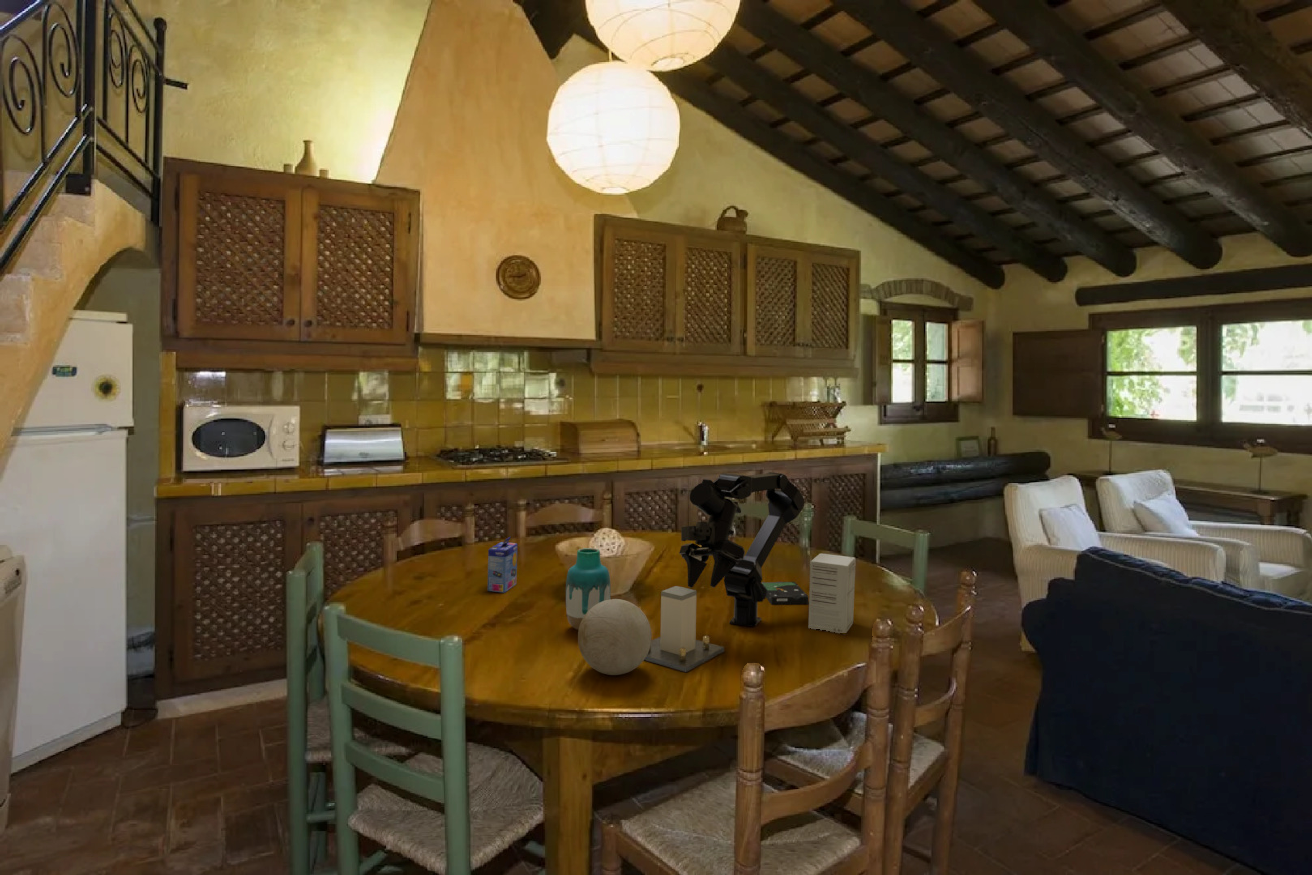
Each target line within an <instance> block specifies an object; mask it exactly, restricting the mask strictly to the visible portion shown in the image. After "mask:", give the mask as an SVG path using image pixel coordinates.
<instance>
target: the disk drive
mask: <svg viewBox="0 0 1312 875" xmlns="http://www.w3.org/2000/svg"><path fill="white" fill-rule="evenodd" d="M761 583H762V585H763V586H764V587H765V589H766V590H767V593H766V597H765V599H767V601H768V602H769V603H770V605H772V606H773V605H775V606H776V605H779V606H781V605H787V606H788V605H790V606H791V605H793V606H794V605H795V606H796V605H800V606H801V605H809V594H807V593H806V592H805V591H804V590H803V589H802V588H801V587H800V586H799V585H798V583H797V582H795V581H775V582H773V581H772V582H770V581H769V582H765V581H761Z"/></svg>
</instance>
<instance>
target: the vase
mask: <svg viewBox="0 0 1312 875" xmlns="http://www.w3.org/2000/svg"><path fill="white" fill-rule="evenodd" d="M601 561H602V560H601V551H600V549H598V548H593V547H587V548H586V547H585V548H580V549H578V550H577V552H576V562H575V564H574V565H572V566H571V567H570V568H569V569H568V571H567V575H566V580H565V608H566V617H567V622H568V623H569V625H570V626H571V628H574V629H575V630H577V631H579V626H580V624H581V621H582V619H583V618H584V616H585V614H586V613H587V612H588V611H589V610H590V609H591V608H592V607H593V606H595V605H596V604H598V603H600V602H602V601H605V600H610V599H611V576H610V571H609V569H608V568H607V566H606V565H603V564H602V562H601Z"/></svg>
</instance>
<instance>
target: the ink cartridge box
mask: <svg viewBox="0 0 1312 875" xmlns="http://www.w3.org/2000/svg"><path fill="white" fill-rule="evenodd" d="M510 539H511V536H509V537H507V538H505V540H504V541H501V542H498V543H497V544H496V545H493V546H492V547H490V548H489V549H488V552H487V556H488V557H487V558H488V559H487V560H488V561H487V592H491V593H492V592H493V593H494V592H495V593H501V594H505V593H507V591H509V590H510V589H512V588H513V587H514V586H516V585H517V575H518V574H517V573H518V572H517V570H518V543H516V542H509V541H510Z"/></svg>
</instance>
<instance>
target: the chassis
mask: <svg viewBox="0 0 1312 875" xmlns="http://www.w3.org/2000/svg"><path fill="white" fill-rule="evenodd" d="M660 640H661V636H659V637H657V638H653V639H651V646H650V649H649V652H648V654H647V656H646V657H645V659H644V661H646V662H649V663H652V664H657V665H660V666H663V667H666V668H670V669H673V670H676V671H680V672H682V673H683V672H684V673H688V672H689V671H691V670H693V669H695V668H697V667H698V666H701V665H702V664H704V663H706V662H708V661H710V660H712V659H713V658H715V657H716V656H718V654H719V655H721V654H723V653H724V652H725V647H724V646H721V645H718V644H713V643H710V636H709V635H703V636H702V640H698V639H696V640H695V649H693V650H691V651H689V652H687V653H686V648H683V647H682V648H679V655H678V654H674V653H671V652H667V651H664V650H660Z"/></svg>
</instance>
